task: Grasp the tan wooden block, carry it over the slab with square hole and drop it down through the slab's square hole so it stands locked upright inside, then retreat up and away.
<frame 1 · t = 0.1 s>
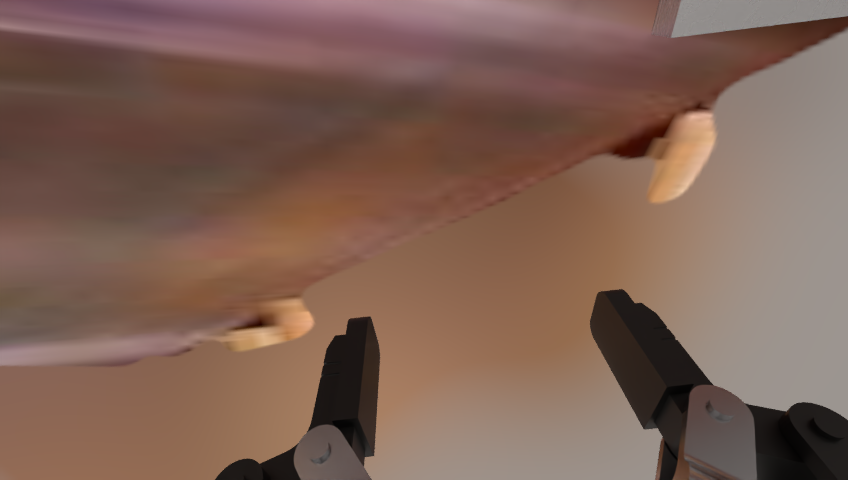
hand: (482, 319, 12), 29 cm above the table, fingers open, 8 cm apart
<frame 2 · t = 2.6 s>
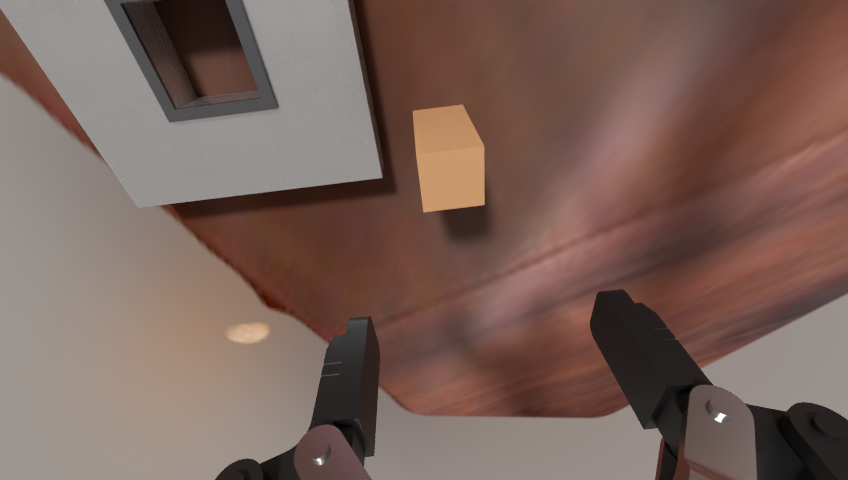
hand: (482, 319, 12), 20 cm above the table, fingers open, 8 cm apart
slab with square hole: (218, 47, 25), on the table
tan wooden block: (439, 132, 29), on the table
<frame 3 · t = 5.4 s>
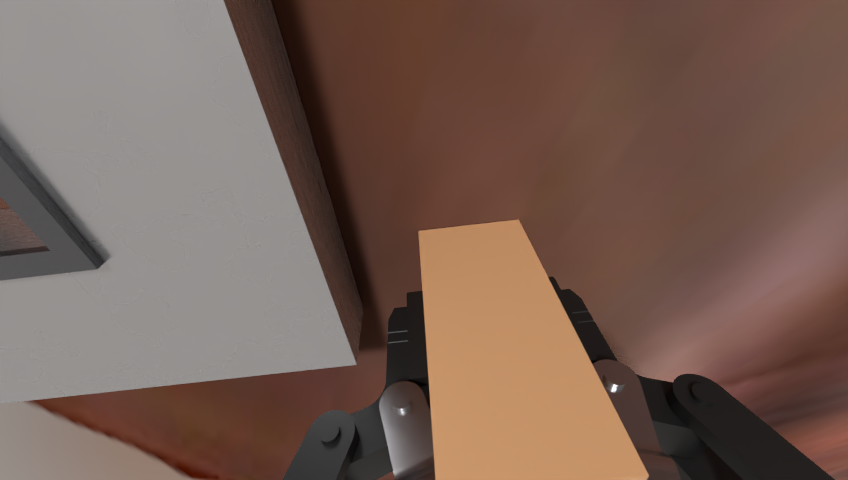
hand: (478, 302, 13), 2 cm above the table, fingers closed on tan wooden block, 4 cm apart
tan wooden block: (469, 263, 15), on the table, touching gripper
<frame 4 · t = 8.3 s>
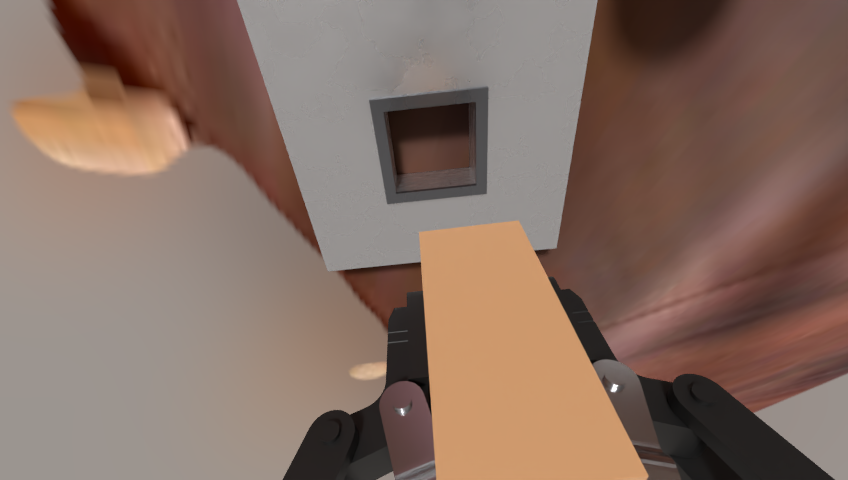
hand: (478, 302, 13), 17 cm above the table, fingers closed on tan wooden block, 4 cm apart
slab with square hole: (430, 135, 27), on the table
tan wooden block: (470, 264, 15), point 15 cm above the table, touching gripper
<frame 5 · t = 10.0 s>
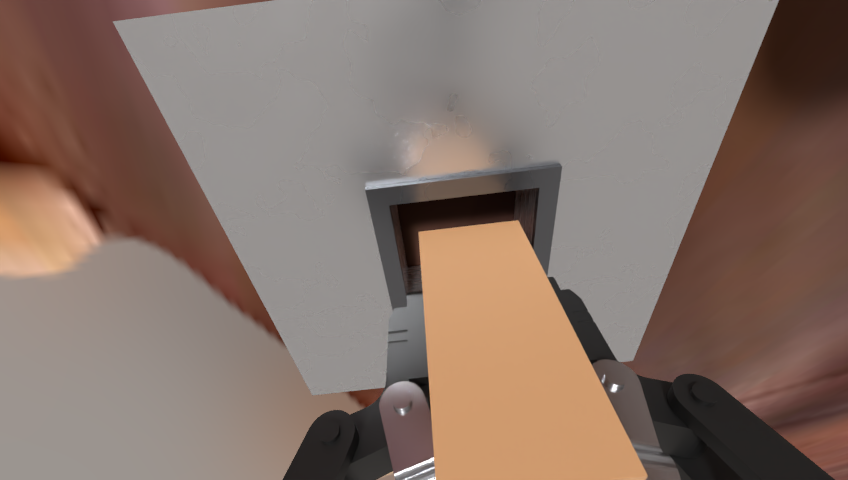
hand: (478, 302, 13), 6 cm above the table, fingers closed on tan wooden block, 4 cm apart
slab with square hole: (457, 216, 18), on the table
tan wooden block: (469, 264, 15), point 4 cm above the table, touching gripper
when the fingers open (4 cm above the table, at t = 11.2 s): tan wooden block drops 2 cm, resting in slab with square hole.
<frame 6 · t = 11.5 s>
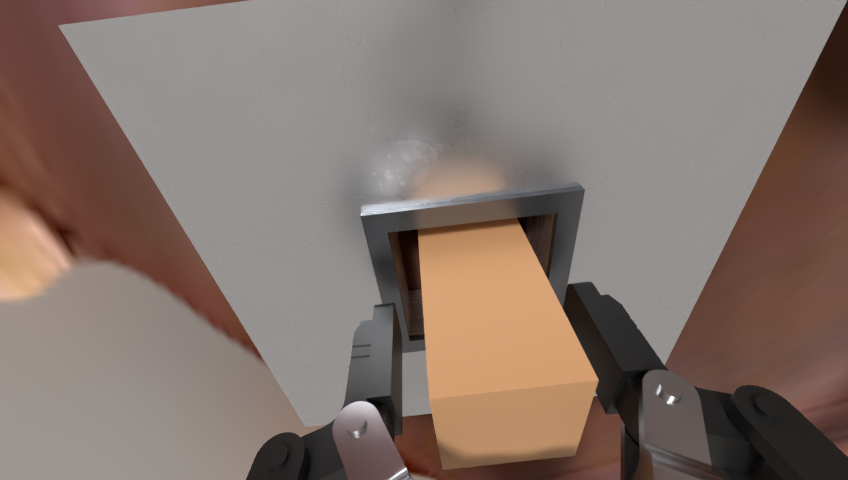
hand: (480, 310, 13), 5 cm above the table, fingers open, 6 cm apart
slab with square hole: (462, 237, 17), on the table
tan wooden block: (462, 237, 17), resting in slab with square hole
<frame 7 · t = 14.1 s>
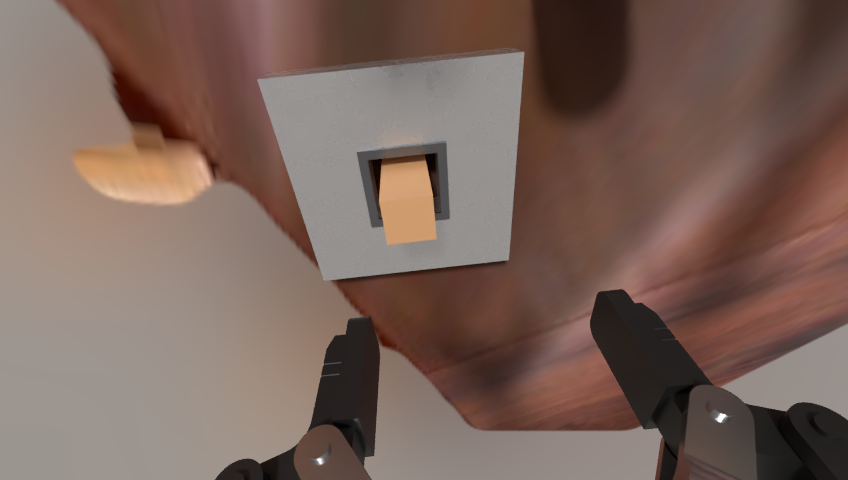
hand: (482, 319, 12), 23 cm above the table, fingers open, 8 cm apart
slab with square hole: (405, 172, 34), on the table
tan wooden block: (405, 172, 34), resting in slab with square hole
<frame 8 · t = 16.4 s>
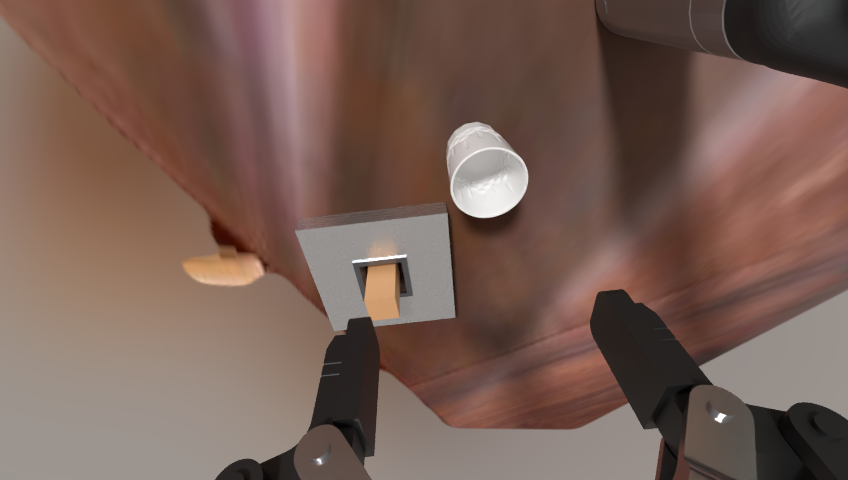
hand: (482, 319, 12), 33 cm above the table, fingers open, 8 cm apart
white cup: (472, 148, 44), on the table
slab with square hole: (384, 265, 54), on the table
tan wooden block: (384, 265, 54), resting in slab with square hole
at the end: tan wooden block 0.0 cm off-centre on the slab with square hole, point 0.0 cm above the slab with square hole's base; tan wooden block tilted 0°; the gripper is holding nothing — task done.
